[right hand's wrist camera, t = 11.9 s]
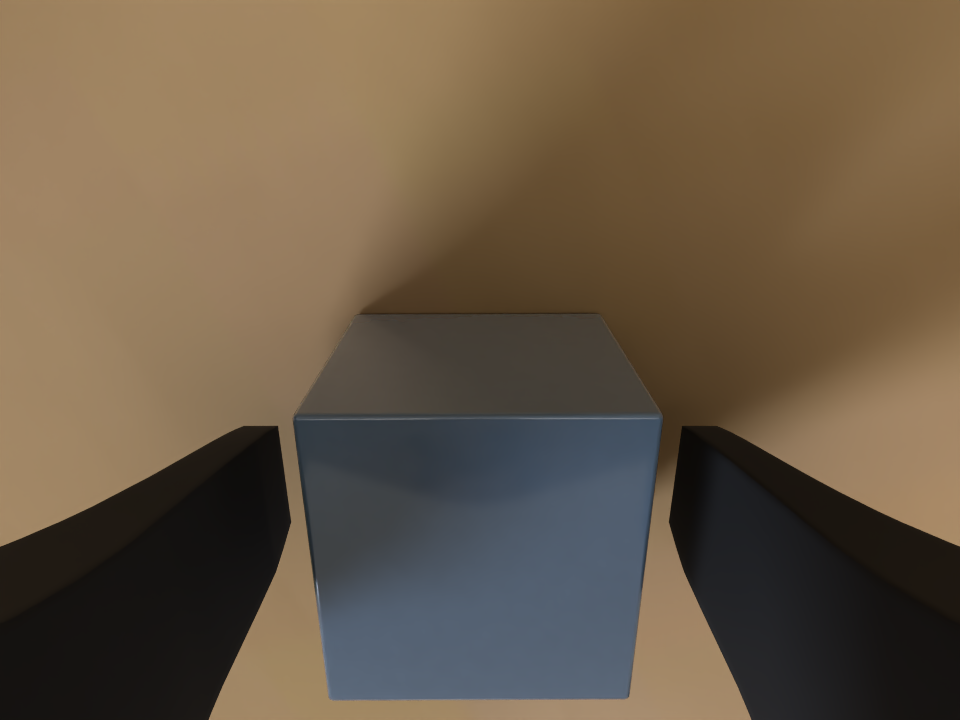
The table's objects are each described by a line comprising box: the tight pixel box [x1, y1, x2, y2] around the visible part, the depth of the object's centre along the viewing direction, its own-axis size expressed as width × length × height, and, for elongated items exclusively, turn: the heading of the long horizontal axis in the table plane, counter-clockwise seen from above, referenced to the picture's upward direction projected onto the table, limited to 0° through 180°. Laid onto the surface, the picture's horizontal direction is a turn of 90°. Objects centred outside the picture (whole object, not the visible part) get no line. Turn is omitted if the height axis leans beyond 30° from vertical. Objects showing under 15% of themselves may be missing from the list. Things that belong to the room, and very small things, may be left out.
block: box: [293, 314, 663, 701], centre depth 11 cm, size 5×5×4 cm
